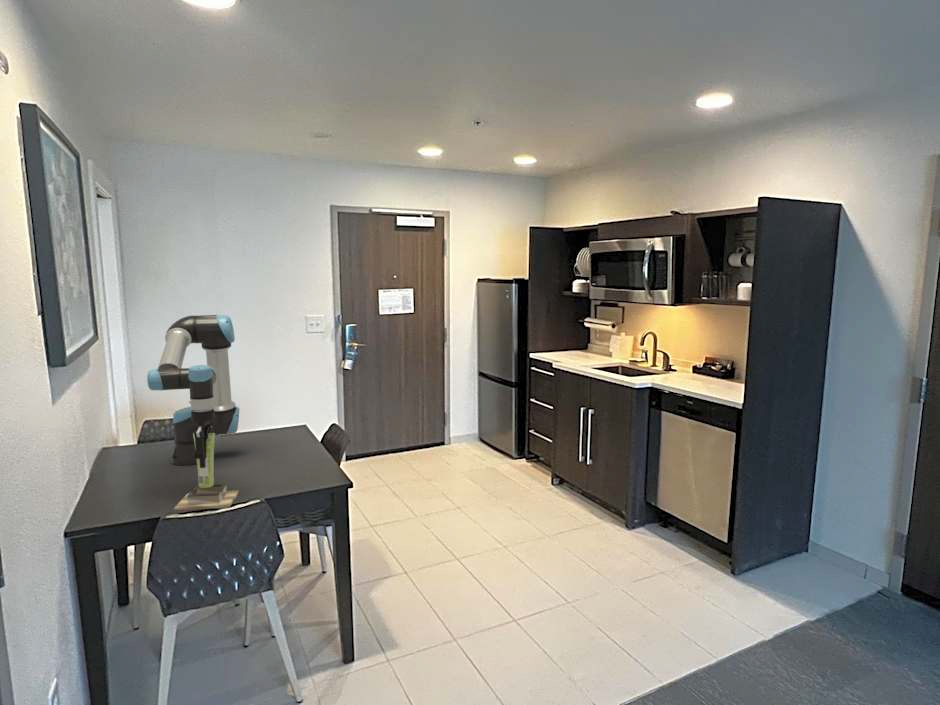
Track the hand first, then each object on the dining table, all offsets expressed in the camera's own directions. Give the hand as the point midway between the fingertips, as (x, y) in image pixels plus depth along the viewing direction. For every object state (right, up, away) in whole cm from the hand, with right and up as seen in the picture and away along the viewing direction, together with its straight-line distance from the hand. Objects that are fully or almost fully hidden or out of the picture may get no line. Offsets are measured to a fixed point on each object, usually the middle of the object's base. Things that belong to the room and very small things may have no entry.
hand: (206, 473), depth 207 cm
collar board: (0, -10, +1) cm, 11 cm away
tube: (0, -5, +1) cm, 5 cm away
